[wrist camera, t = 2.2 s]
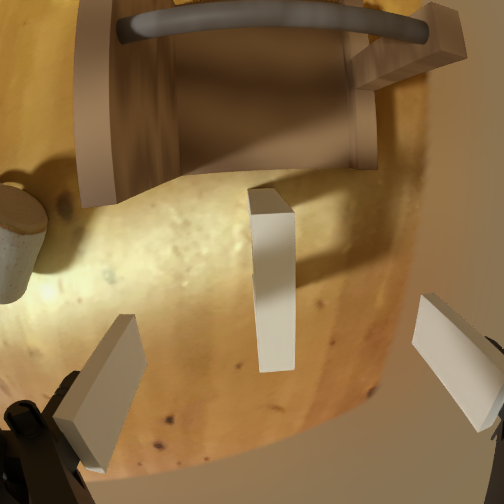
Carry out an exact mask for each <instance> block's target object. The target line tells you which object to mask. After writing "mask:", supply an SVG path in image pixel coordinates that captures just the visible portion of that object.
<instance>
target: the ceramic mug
mask: <svg viewBox="0 0 504 504" xmlns="http://www.w3.org/2000/svg"><path fill="white" fill-rule="evenodd" d="M47 226H48V218H47V215H46V212H45V210H44V208H43V206H42V205H41V204H40V203H39V202H38V201H37V200H36V199H35V198H34V197H33V196H31V195H30V194H28V193H27V192H25V191H23V190H21V189H19V188H16V187H13V186H7V185H3V184H2V183H0V304H9V303H12V302H15V301H17V300H18V299H19V298H20V297H22V295H23V294H24V293H25V291H26V289H27V285H28V282H29V279H30V276H31V273H32V271H33V268H34V265H35V262H36V259H37V256H38V253H39V251H40V249H41V247H42V244H43V241H44V238H45V235H46V231H47Z"/></svg>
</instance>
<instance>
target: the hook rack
mask: <svg viewBox="0 0 504 504" xmlns="http://www.w3.org/2000/svg"><path fill="white" fill-rule="evenodd" d="M368 34H370V35H377V36H381V37H379V38H378V39H377V40H375V41H374V42H373V43H371V44H370V45H369V38H368ZM463 59H467V53H466V47H465V43H464V37H463V32H462V27H461V23H460V19H459V15H458V11H456V10H453V9H450V8H448V7H445V6H442V5H439V4H436V3H433V2H430V3H428V4H427V5H425V6H424V7H422V8H421V9H419V10H418V11H416V12H415V13H413V14H412V15H410V16H409V17H407V16H403V15H398V14H394V13H389V12H385V11H379V10H374V9H368V8H364V7H363V1H362V0H338V1H337V2H332V1H322V0H214V1H204V2H195V3H187V4H180V5H175V4H174V2H173V0H80V1H79V8H78V16H77V26H76V37H75V52H74V76H73V111H74V136H75V152H76V164H77V174H78V183H79V192H80V200H81V207H82V208H90V207H97V206H105V205H114V204H118V203H120V202H122V201H125V200H127V199H129V198H131V197H133V196H136V195H138V194H140V193H142V192H144V191H147V190H149V189H151V188H154V187H156V186H158V185H160V184H163V183H165V182H168V181H170V180H172V179H175V178H177V177H180V176H184V175H195V174H206V173H219V172H234V171H251V170H272V169H302V168H353V169H358V170H378V157H377V125H376V107H375V93H374V91H375V90H378V89H380V88H383V87H386V86H388V85H391V84H393V83H396V82H399V81H401V80H404V79H407V78H410V77H412V76H415V75H418V74H421V73H424V72H426V71H429V70H432V69H435V68H438V67H441V66H444V65H447V64H451V63H454V62H457V61H460V60H463Z"/></svg>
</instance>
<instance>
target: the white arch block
mask: <svg viewBox="0 0 504 504" xmlns="http://www.w3.org/2000/svg"><path fill="white" fill-rule="evenodd" d="M248 207H249V220H250V229H251V239H252V256H253V274H254V275H252V278H253V295H254V308H255V321H256V333H257V346H258V358H259V370H260V372H273V371H286V370H294V369H295V316H296V255H295V212H294V211H293V210H292V209H291V207H290V206H289V205H288V204H287V203H286V202H285V200H284V199H283V198H282V197H281V196H280V195H279V193H278V192H277V191H276V190H275V189H274V188H262V189H248Z"/></svg>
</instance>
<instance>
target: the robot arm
mask: <svg viewBox="0 0 504 504" xmlns="http://www.w3.org/2000/svg"><path fill="white" fill-rule="evenodd" d="M412 344H413V345H414V347H415V348H416V349H417V350H418V352H419V353H420V354H421V356H422V357H423V358H424V359H425V361H426V362H427V363H428V365H429V366H430V367H431V369H432V370H433V371H434V373H435V374H436V375H437V377H438V378H439V379H440V380H441V382H442V383H443V385H444V386H445V387H446V389H447V390H448V391H449V392H450V394H451V395H452V397H453V398H454V400H455V401H456V402H457V404H458V405H459V406H460V408H461V409H462V411H463V412H464V413H465V415H466V416H467V418H468V419H469V421H470V422H471V423H472V425H473V426H474V428H475V429H476V431H477V432H480V431H482V430H484V429H487V428H489V427H491V426H492V424H493V423H494V421H495V419H496V417H497V415H499V417H500V418H501V419H502V420H501V422H500V424H499V425H498V427H497V429H496V430H495V432H494V434H493V435H492V437H491V440H493V439H494V438H495V436H496V435H497V440H496V441H497V442H496V448H495V454H494V460H493V466H492V472H491V476H490V481H489V485H488V489H487V494H486V497H485V502H484V504H504V349H502V347H501V346H500V345H499V344H498V343H497V342H495V341H494V340H492V339H490V338H488V337H486V336H483V335H482V334H481V333H479V331H478V330H476V329H475V328H474V327H473V326H472V325H471V324H470V323H469V322H468V321H466V320H465V319H464V318H463V317H462V316H461V315H460V314H458V313H457V312H456V311H455V310H454V309H453V308H452V307H450V306H449V305H448V304H447V303H446V302H444V301H443V300H442V299H441V298H440V297H439V296H437V295H436V294H435V293H428V294H422V295H421V299H420V305H419V311H418V316H417V321H416V326H415V331H414V336H413V341H412ZM146 366H147V361H146V358H145V354H144V350H143V346H142V343H141V339H140V335H139V331H138V327H137V322H136V318H135V314H119V316H118V317H117V318H116V320H115V321H114V323H113V324H112V326H111V327H110V329H109V330H108V331H107V333H106V334H105V336H104V337H103V339H102V340H101V342H100V343H99V345H98V346H97V348H96V349H95V351H94V352H93V354H92V355H91V357H90V358H89V360H88V361H87V363H86V364H85V366H84V367H83V369H82V370H81V371H73V372H72V373H70V374H69V375H68V376H66V377H65V378H64V380H63V381H62V383H61V384H60V386H59V388H58V389H57V390H56V392H55V393H54V395H53V396H52V398H51V399H50V401H49V402H48V404H47V405H46V407H45V408H44V410H43V412H42V413H40V411H39V409H38V408H37V406H36V404H35V403H34V402H32V401H29V400H21V401H17V402H15V403H13V404H12V405H10V406H9V407H8V408H7V410H6V411H5V413H4V420H5V422H6V423H7V425H8V426H9V428H10V429H11V430H1V428H0V504H95V502H94V500H93V498H92V497H91V495H90V492H89V490H88V489H87V486H86V484H85V482H84V480H83V478H82V476H81V474H80V472H79V471H78V469H77V466H78V463H79V461H81V462H82V464H83V465H84V467H85V468H86V469H87V470H91V471H96V472H100V473H106V471H107V468H108V465H109V462H110V459H111V457H112V454H113V451H114V448H115V445H116V443H117V440H118V437H119V435H120V432H121V429H122V427H123V424H124V421H125V419H126V416H127V414H128V411H129V408H130V406H131V403H132V401H133V398H134V396H135V393H136V391H137V388H138V386H139V383H140V381H141V378H142V376H143V373H144V371H145V368H146Z"/></svg>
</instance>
